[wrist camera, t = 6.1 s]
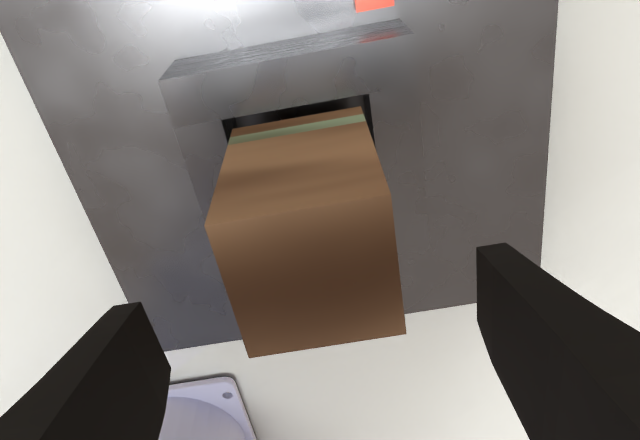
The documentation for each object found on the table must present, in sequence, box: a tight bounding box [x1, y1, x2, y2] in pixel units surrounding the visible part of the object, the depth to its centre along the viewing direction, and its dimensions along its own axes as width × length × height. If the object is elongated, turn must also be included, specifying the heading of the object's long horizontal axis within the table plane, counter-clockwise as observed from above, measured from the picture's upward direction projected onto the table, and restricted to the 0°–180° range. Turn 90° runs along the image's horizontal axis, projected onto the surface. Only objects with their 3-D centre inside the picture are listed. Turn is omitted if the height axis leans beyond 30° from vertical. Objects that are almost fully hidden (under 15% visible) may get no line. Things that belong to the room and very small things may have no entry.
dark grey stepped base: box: [0, 0, 558, 352], centre depth 18 cm, size 18×18×4 cm
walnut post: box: [204, 106, 406, 358], centre depth 14 cm, size 4×4×6 cm
